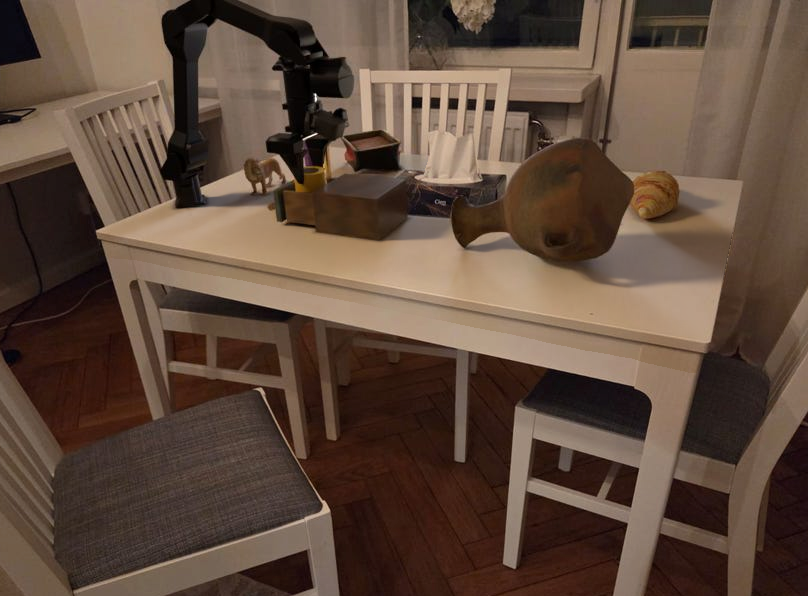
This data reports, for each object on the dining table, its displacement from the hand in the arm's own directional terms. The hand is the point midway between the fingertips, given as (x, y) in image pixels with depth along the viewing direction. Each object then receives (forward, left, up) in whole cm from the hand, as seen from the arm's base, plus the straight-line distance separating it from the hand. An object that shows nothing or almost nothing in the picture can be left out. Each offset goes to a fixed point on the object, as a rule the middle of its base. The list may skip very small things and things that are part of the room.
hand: (310, 179), depth 127 cm
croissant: (+18, +66, -9) cm, 69 cm away
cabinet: (+7, +9, -8) cm, 14 cm away
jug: (+32, +34, -9) cm, 48 cm away
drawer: (-1, -1, -8) cm, 8 cm away
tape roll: (0, 0, -3) cm, 3 cm away
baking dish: (-34, +20, -9) cm, 40 cm away
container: (-26, +4, -9) cm, 27 cm away
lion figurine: (-24, -8, -9) cm, 26 cm away
